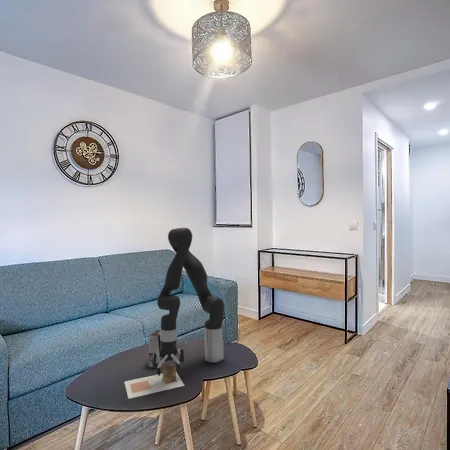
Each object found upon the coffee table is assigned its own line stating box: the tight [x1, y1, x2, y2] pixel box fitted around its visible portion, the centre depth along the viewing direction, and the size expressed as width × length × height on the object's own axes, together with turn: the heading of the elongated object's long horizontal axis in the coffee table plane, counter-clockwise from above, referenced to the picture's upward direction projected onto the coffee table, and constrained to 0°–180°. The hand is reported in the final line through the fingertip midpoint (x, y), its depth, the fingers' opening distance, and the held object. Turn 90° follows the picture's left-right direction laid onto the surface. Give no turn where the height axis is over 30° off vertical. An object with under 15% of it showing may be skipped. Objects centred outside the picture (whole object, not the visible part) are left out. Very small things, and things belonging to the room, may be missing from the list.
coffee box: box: [148, 329, 166, 369], centre depth 155 cm, size 9×6×16 cm
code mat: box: [124, 372, 185, 399], centre depth 135 cm, size 24×15×1 cm, turn 115°
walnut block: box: [162, 363, 176, 384], centre depth 138 cm, size 5×5×6 cm
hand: (168, 373), depth 138 cm, fingers open, 8 cm apart
